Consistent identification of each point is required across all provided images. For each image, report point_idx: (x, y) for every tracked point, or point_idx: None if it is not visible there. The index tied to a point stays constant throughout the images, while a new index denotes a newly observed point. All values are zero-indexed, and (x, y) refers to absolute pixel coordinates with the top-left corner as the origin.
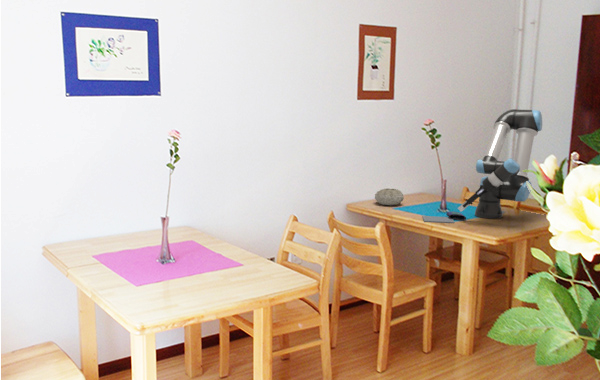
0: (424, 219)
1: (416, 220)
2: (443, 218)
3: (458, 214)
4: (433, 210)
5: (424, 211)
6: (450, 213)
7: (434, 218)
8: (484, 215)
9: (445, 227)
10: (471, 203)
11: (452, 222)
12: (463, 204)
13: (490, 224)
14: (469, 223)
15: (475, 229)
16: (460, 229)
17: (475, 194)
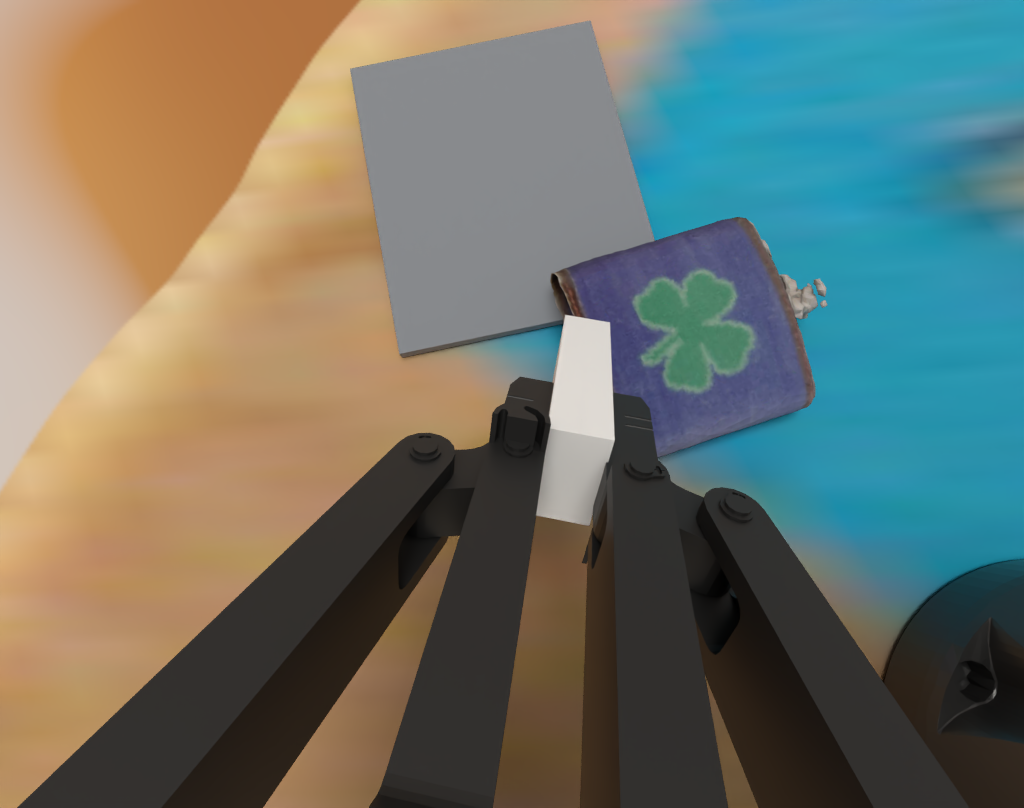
0: (415, 61)
1: (396, 10)
2: (552, 223)
3: (617, 362)
4: (1006, 80)
5: (889, 9)
6: (644, 262)
7: (509, 140)
8: (908, 714)
9: (166, 291)
10: (587, 549)
11: (396, 334)
12: (552, 388)
13: (514, 793)
14: None
15: (160, 609)
16: (114, 445)
17: (80, 796)
